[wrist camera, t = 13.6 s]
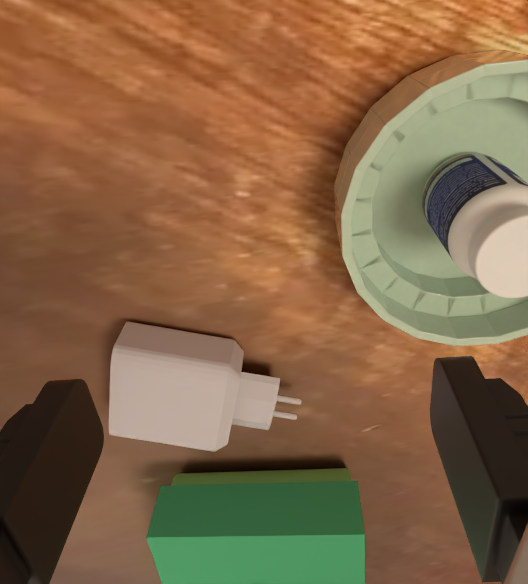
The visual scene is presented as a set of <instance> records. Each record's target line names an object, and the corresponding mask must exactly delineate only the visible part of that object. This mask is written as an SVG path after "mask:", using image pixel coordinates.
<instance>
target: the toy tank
mask: <svg viewBox="0 0 528 584" xmlns="http://www.w3.org/2000/svg"><path fill="white" fill-rule="evenodd" d="M146 538H147V541H148V544H149V547H150V550H151V553H152V556H153V559H154V561H155V564H156V567H157V570H158V573H159V576H160V579H161V582H162V584H365V532H364V525H363V518H362V510H361V503H360V495H359V488H358V481H351V475H350V472H349V469H348V468H337V469H305V470H273V471H242V472H210V473H179V474H176V475H175V476H174V478H173V480H172V483H171V485H169V486H160V490H159V494H158V497H157V501H156V504H155V508H154V512H153V515H152V519H151V522H150V526H149V530H148V533H147V537H146Z"/></svg>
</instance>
